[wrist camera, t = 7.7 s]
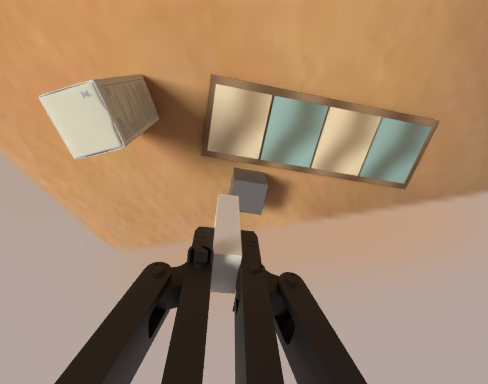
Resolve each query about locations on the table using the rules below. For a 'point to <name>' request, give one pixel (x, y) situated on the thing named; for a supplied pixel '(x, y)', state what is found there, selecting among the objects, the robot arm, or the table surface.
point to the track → (312, 133)
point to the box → (101, 114)
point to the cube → (249, 190)
